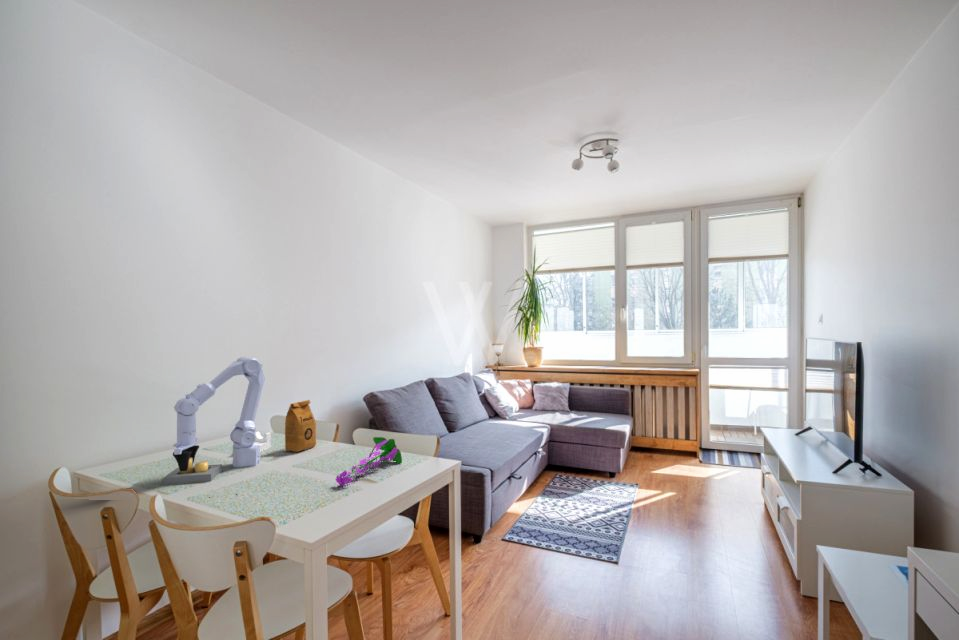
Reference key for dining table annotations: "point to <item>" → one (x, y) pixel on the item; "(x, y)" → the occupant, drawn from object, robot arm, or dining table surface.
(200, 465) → the yellow potato
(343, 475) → the purple green flared piece
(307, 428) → the coffee package
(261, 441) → the bracket
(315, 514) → the dining table surface
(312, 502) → the dining table surface
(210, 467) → the grey tray
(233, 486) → the dining table surface
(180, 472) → the yellow oval lump
